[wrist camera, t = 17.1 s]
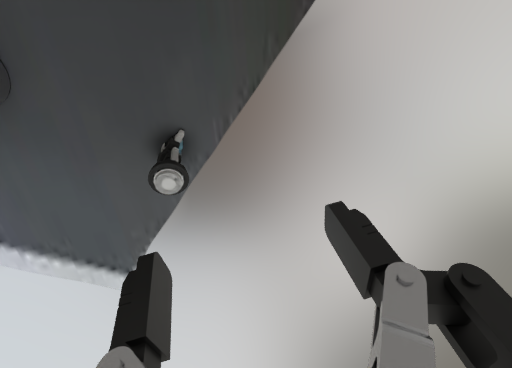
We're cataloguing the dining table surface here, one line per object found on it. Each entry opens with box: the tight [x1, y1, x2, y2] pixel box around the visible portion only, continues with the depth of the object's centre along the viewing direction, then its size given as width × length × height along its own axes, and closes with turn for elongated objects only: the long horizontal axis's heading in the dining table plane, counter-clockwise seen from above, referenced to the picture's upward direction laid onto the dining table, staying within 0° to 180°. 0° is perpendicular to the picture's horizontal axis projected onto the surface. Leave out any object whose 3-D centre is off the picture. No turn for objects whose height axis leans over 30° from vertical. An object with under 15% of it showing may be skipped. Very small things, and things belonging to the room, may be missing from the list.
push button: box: [148, 130, 189, 195], centre depth 39 cm, size 7×5×10 cm
